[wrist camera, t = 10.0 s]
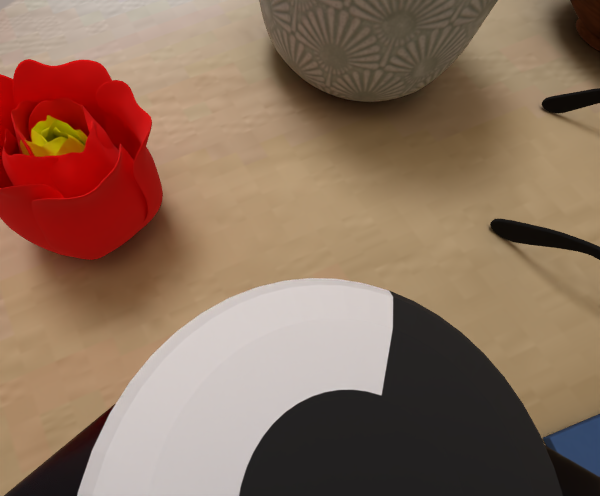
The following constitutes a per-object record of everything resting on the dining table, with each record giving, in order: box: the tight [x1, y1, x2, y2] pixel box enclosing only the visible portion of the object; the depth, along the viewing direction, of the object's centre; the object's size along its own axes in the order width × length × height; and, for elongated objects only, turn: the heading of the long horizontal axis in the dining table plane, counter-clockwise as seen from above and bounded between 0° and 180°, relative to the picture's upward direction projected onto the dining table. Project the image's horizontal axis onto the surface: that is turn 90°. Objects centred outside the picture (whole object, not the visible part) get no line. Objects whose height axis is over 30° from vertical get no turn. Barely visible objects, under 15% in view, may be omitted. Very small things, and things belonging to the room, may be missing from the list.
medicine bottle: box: [77, 278, 563, 496], centre depth 10 cm, size 7×7×12 cm
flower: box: [0, 59, 163, 260], centre depth 21 cm, size 8×8×8 cm
